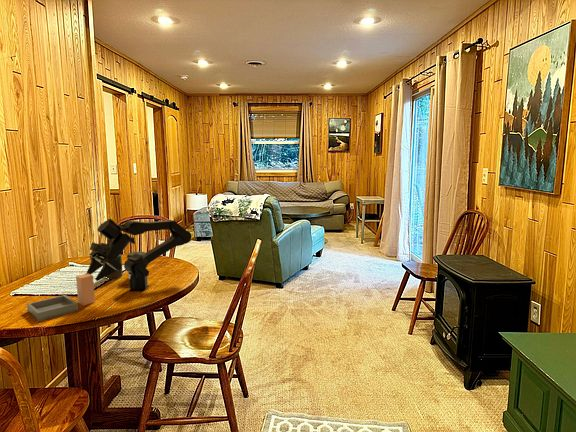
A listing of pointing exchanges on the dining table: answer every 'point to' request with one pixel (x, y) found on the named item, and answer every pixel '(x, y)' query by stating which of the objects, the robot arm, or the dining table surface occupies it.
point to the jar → (132, 255)
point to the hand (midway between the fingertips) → (91, 277)
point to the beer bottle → (118, 273)
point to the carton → (85, 289)
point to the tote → (52, 307)
